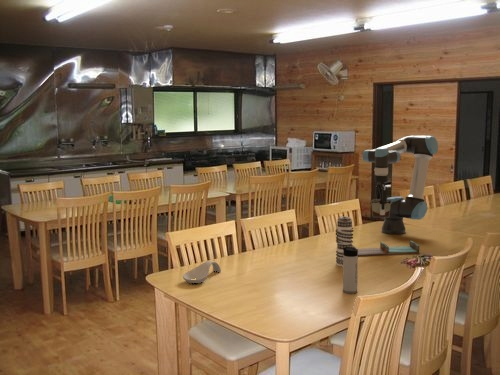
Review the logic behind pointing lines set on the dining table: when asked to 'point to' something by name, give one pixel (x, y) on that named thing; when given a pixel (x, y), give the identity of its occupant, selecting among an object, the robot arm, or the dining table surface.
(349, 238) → the decorative candle
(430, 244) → the dining table surface
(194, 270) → the spoon rest
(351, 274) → the travel mug
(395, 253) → the rack
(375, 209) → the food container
